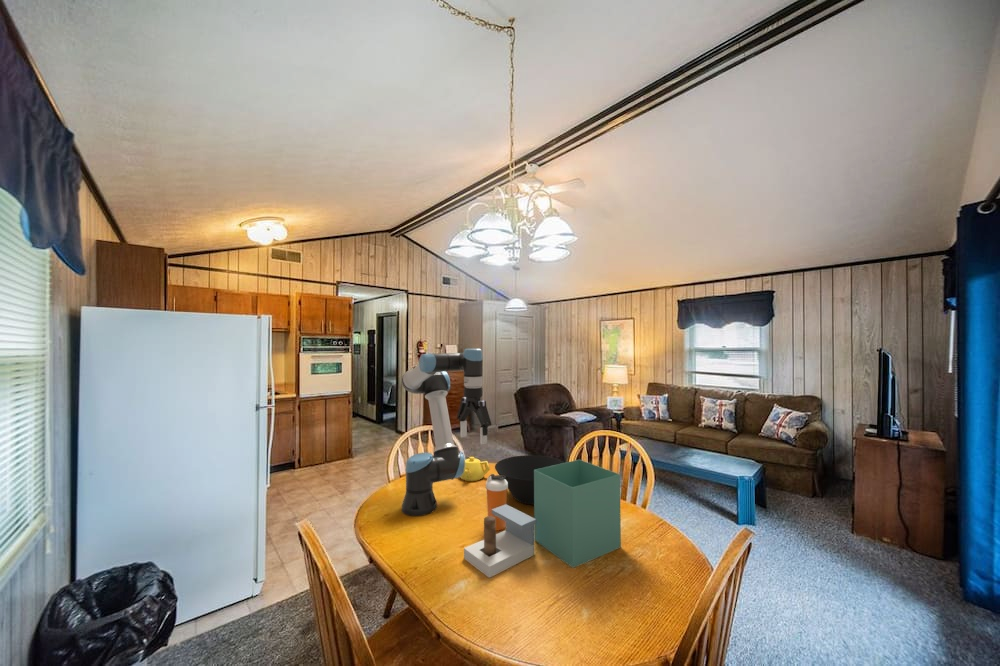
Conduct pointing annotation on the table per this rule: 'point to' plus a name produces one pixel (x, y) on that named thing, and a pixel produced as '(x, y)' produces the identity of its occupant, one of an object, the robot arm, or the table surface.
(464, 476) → the teapot
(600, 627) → the table surface
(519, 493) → the bowl
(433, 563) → the table surface
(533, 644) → the table surface
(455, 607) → the table surface
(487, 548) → the peg
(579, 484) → the box
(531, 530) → the socket station
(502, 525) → the shaker bottle
